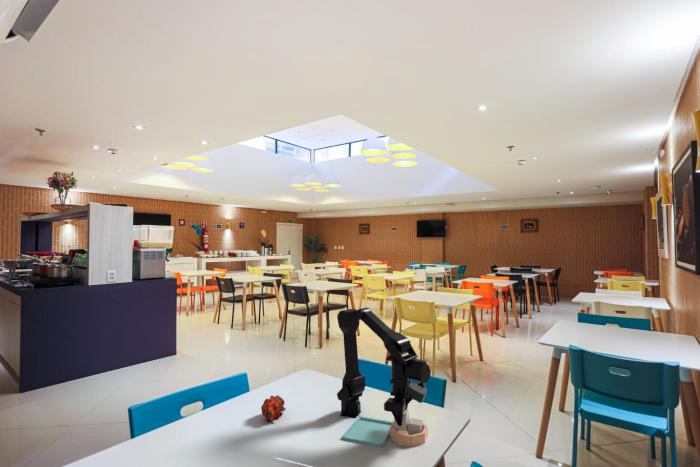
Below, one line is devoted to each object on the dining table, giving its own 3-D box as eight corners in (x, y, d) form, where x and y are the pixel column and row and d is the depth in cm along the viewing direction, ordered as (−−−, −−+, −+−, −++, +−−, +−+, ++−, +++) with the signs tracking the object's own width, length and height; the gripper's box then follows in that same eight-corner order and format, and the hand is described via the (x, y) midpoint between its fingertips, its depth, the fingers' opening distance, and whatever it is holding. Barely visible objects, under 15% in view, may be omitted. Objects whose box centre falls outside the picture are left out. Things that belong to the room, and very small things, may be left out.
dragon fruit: (280, 414, 146) (270, 434, 134) (263, 401, 146) (251, 420, 134) (292, 398, 144) (282, 416, 132) (274, 385, 145) (263, 402, 133)
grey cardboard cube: (406, 430, 121) (405, 415, 121) (394, 428, 122) (394, 413, 123) (409, 425, 124) (408, 410, 125) (397, 423, 126) (397, 408, 126)
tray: (341, 440, 122) (341, 436, 122) (359, 419, 136) (359, 416, 136) (382, 448, 116) (381, 444, 116) (396, 425, 131) (396, 422, 131)
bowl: (386, 443, 119) (386, 431, 119) (396, 426, 130) (396, 416, 130) (422, 449, 115) (422, 438, 115) (429, 432, 125) (429, 422, 125)
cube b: (420, 441, 119) (419, 425, 119) (408, 438, 120) (407, 423, 121) (423, 435, 122) (422, 419, 123) (411, 433, 124) (410, 418, 124)
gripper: (417, 388, 112) (419, 440, 112) (429, 369, 129) (431, 414, 129) (382, 384, 117) (384, 434, 116) (399, 366, 134) (400, 409, 133)
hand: (401, 422), depth 123 cm, fingers closed on grey cardboard cube, 4 cm apart
